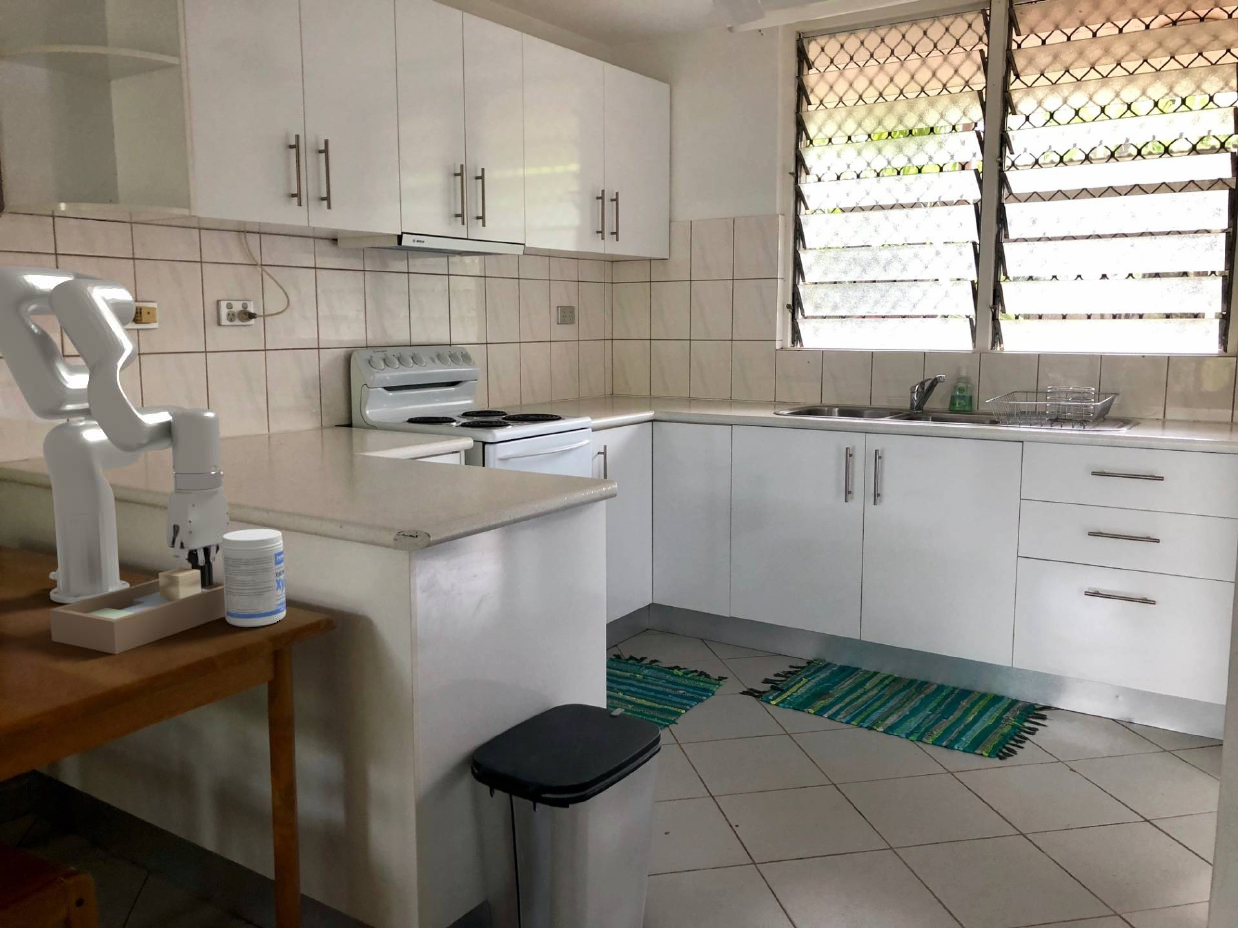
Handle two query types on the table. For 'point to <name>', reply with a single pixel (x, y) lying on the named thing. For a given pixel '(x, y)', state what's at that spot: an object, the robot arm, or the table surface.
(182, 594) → the maple block
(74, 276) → the robot arm
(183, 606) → the box
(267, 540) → the supplement tub
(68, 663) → the table surface
